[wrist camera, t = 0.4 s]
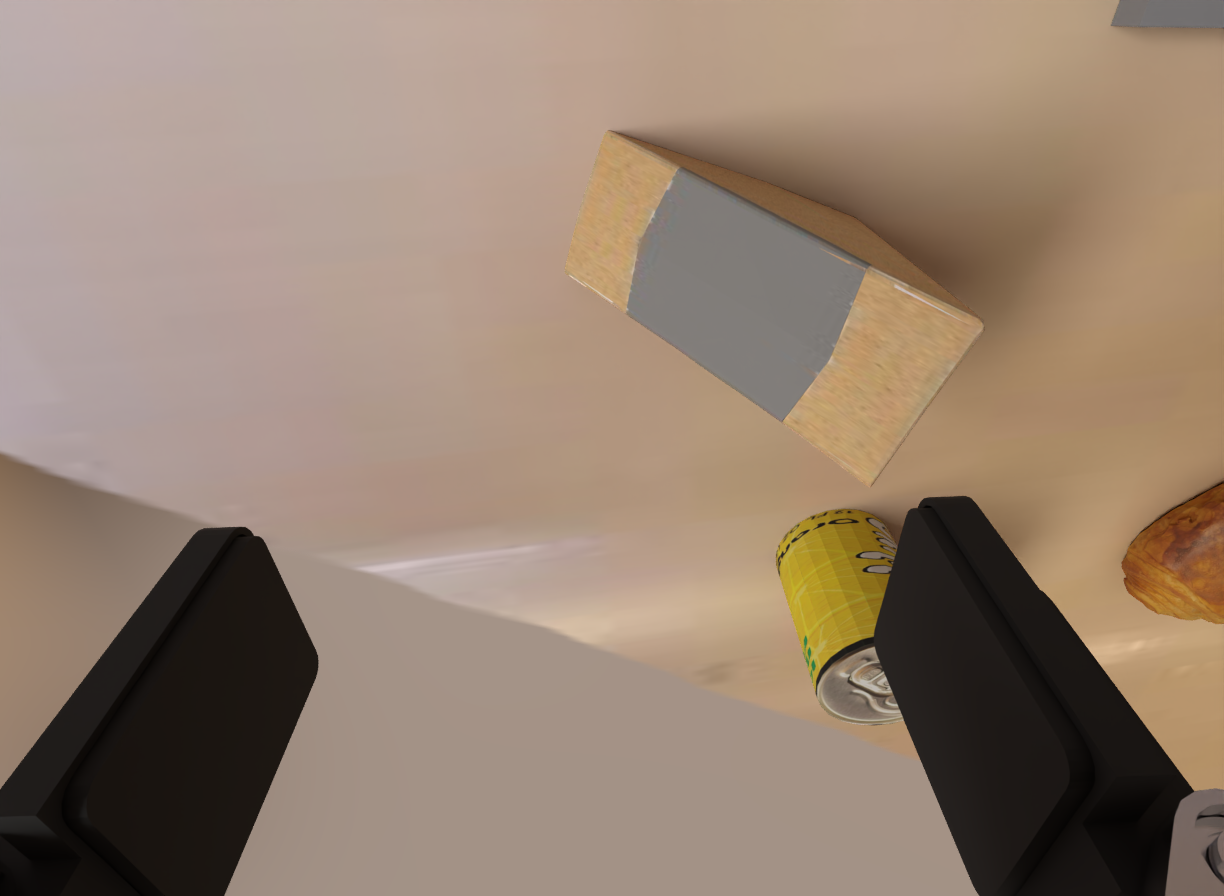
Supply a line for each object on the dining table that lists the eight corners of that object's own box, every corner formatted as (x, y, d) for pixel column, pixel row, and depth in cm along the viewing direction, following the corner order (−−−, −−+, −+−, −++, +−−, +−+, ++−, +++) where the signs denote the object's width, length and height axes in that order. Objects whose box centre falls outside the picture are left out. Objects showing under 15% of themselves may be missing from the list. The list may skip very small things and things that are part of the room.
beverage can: (840, 605, 55) (892, 738, 45) (752, 569, 52) (788, 702, 42) (915, 535, 50) (992, 665, 41) (824, 492, 48) (882, 620, 38)
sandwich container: (603, 121, 34) (604, 189, 22) (862, 214, 37) (994, 321, 24) (559, 274, 38) (539, 403, 26) (792, 346, 41) (873, 493, 29)
